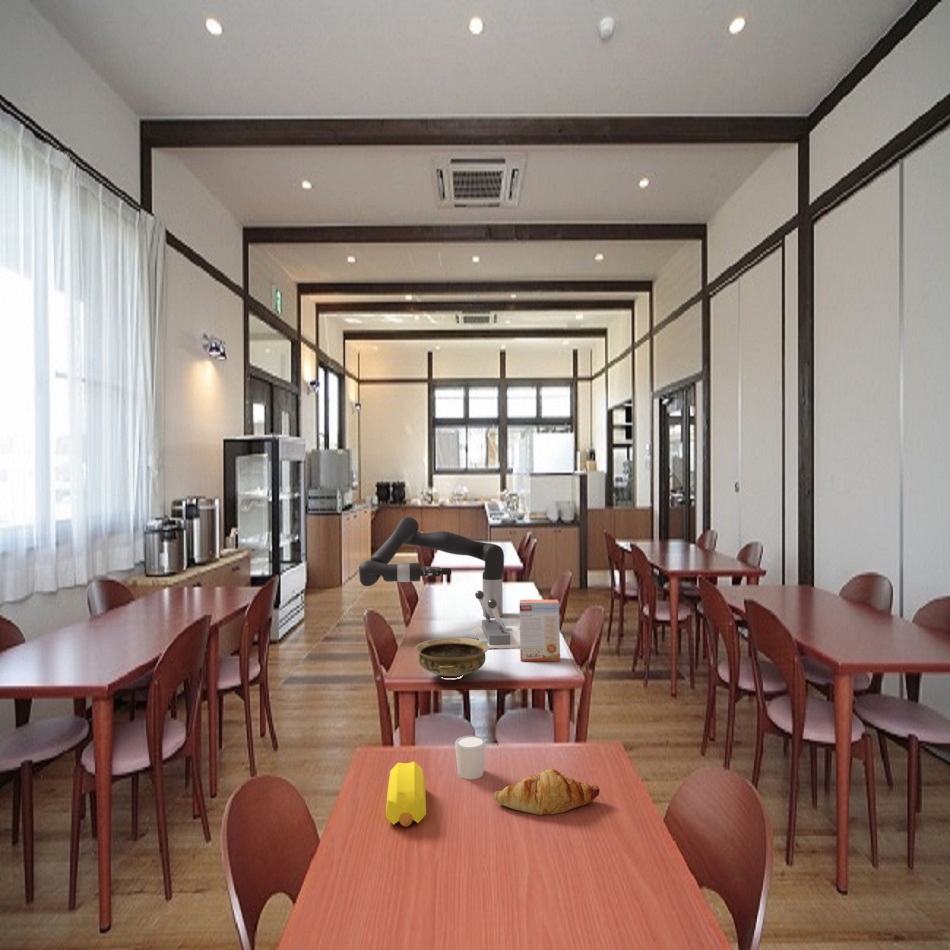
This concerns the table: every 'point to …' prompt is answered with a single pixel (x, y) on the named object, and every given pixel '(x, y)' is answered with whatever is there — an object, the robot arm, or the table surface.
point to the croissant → (546, 793)
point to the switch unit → (498, 635)
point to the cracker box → (539, 630)
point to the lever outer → (496, 614)
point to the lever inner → (483, 604)
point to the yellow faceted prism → (406, 794)
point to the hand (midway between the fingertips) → (450, 571)
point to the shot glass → (470, 756)
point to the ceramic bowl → (452, 656)
